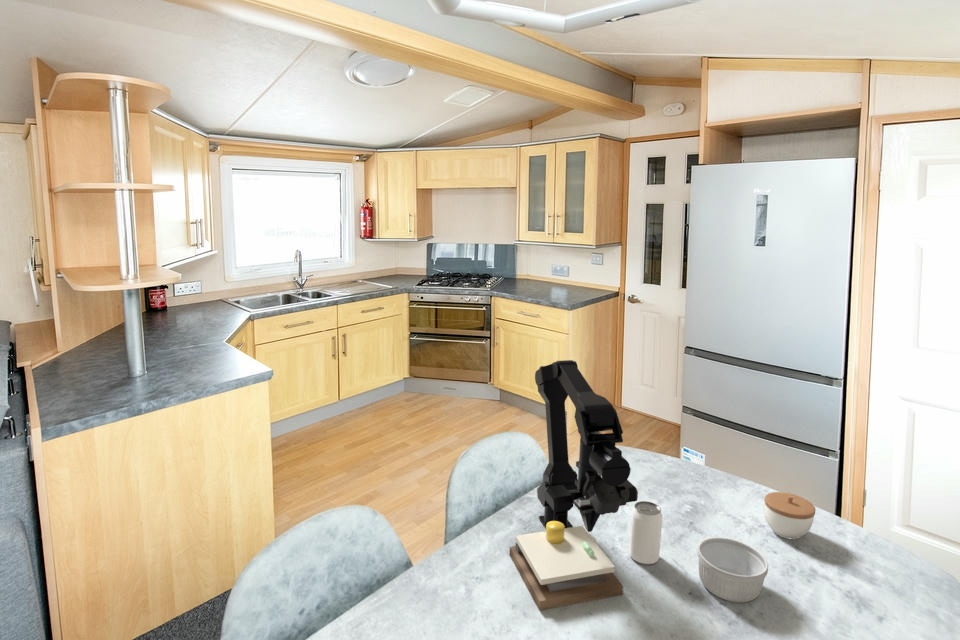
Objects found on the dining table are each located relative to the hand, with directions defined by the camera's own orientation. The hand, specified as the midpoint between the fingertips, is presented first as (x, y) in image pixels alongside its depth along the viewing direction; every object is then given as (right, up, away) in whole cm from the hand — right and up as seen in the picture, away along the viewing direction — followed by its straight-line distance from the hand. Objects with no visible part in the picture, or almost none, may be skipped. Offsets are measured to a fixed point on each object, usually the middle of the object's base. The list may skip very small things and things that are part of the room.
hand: (588, 530), depth 117 cm
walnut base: (-5, -10, +2) cm, 11 cm away
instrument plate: (-5, -6, +1) cm, 8 cm away
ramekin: (+29, -11, -1) cm, 31 cm away
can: (+14, -9, +8) cm, 18 cm away
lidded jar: (+51, -7, +18) cm, 55 cm away
